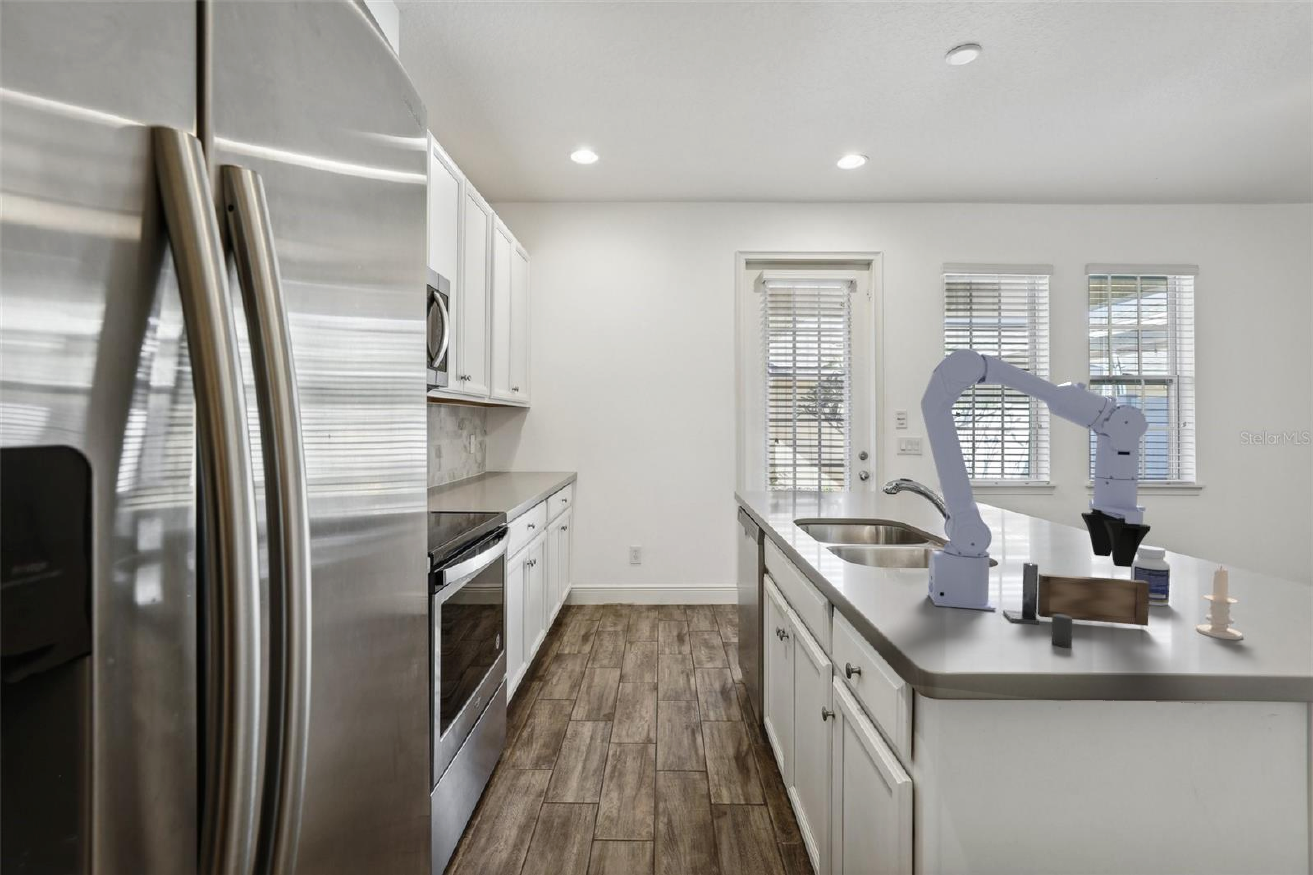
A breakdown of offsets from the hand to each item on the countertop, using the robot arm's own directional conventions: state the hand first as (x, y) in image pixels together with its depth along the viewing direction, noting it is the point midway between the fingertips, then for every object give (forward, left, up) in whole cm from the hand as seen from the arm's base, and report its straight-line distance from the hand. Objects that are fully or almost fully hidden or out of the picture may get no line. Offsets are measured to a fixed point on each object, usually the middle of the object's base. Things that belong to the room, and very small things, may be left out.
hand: (1111, 560), depth 100 cm
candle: (+13, -5, -10) cm, 16 cm away
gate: (-5, -6, -8) cm, 11 cm away
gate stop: (-13, -17, -9) cm, 23 cm away
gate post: (-15, -6, -9) cm, 18 cm away
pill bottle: (+11, +11, -10) cm, 18 cm away
